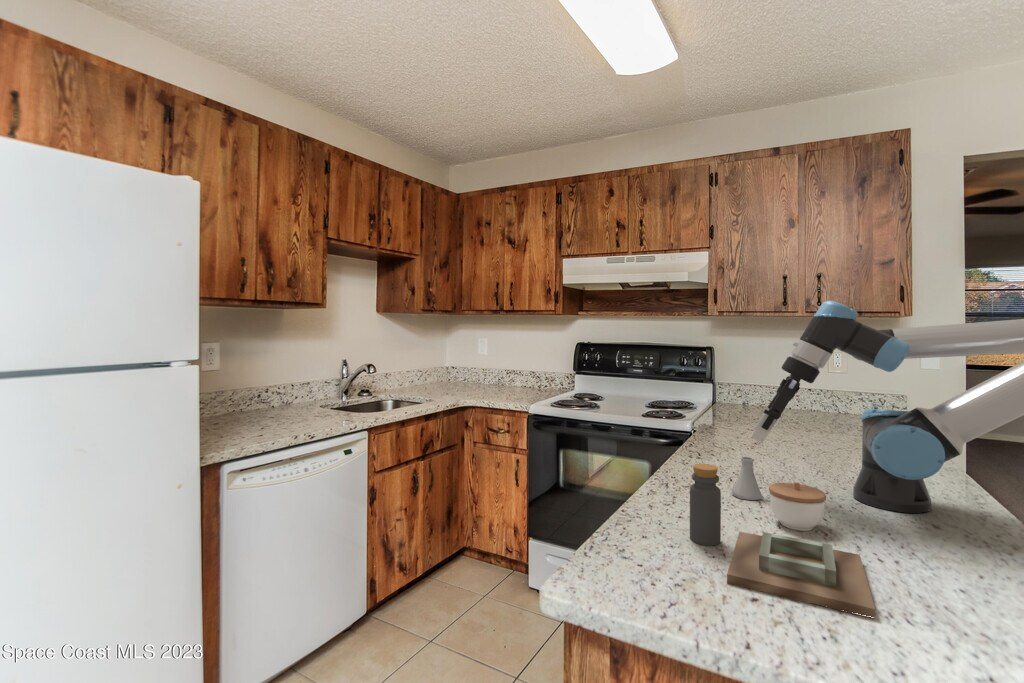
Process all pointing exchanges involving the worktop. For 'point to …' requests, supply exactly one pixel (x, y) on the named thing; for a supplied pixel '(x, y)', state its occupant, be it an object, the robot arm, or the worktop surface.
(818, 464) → the worktop surface
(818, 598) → the socket board
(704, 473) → the bottle
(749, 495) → the flask
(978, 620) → the worktop surface
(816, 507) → the lidded jar
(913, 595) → the worktop surface
